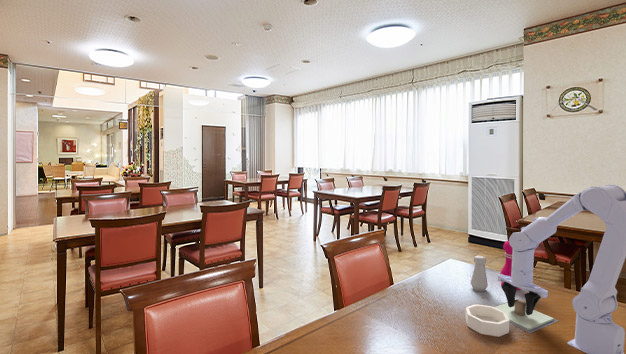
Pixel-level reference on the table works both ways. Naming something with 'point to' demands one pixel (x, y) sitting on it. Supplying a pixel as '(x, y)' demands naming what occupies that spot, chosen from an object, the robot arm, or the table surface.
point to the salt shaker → (479, 274)
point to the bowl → (487, 320)
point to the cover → (524, 315)
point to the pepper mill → (507, 261)
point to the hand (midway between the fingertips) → (520, 310)
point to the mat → (534, 328)
